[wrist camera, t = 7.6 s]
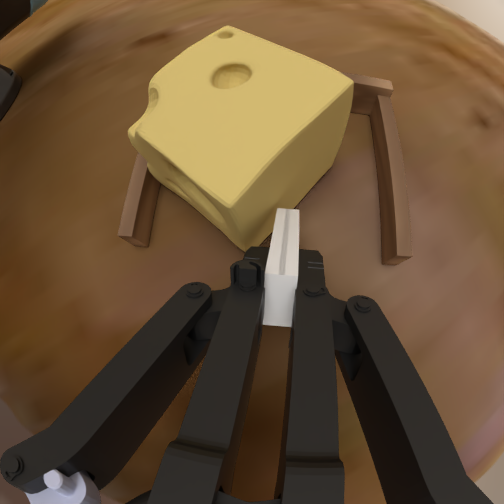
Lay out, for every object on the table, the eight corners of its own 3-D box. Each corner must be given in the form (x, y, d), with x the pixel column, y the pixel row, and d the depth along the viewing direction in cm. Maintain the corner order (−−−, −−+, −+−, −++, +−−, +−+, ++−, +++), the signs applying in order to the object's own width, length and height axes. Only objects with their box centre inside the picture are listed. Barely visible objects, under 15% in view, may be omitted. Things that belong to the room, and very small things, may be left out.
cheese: (159, 185, 23) (100, 112, 14) (246, 104, 25) (230, 16, 15) (252, 266, 21) (227, 217, 11) (341, 165, 22) (369, 76, 13)
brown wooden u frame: (135, 246, 22) (110, 231, 18) (172, 97, 26) (161, 71, 22) (395, 265, 21) (418, 253, 17) (379, 108, 24) (390, 81, 20)
